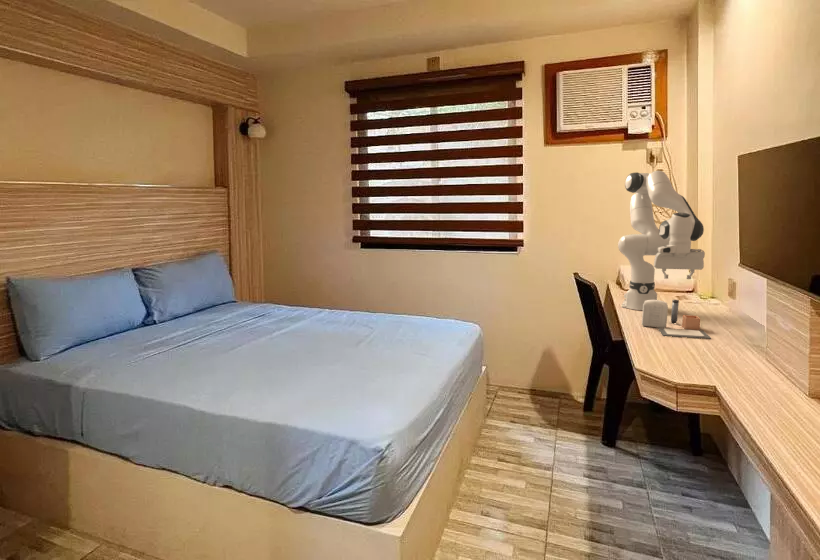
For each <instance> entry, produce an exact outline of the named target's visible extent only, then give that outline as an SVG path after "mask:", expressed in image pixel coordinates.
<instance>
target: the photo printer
mask: <svg viewBox="0 0 820 560" xmlns="http://www.w3.org/2000/svg"><path fill="white" fill-rule="evenodd" d="M668 310H669V307H668V303H667V302H666V301H663V300H659V299H657V300H646V301H645V302H644V304H643V310H642V315H641V317H642V318H641V326H642V325H643V326H644V327H650V326H651V328H652V327H653V328H667V325H668V324H667V323H668Z"/></svg>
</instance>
